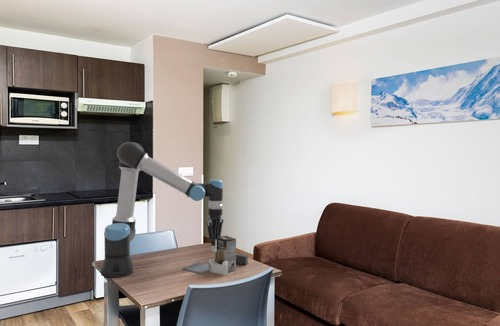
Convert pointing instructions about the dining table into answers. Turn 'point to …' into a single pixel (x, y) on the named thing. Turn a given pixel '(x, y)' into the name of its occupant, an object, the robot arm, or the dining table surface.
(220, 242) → the coffee box
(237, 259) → the tie bar
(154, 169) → the robot arm
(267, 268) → the dining table surface
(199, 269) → the mat
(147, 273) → the dining table surface
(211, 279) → the dining table surface
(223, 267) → the clip jaw
